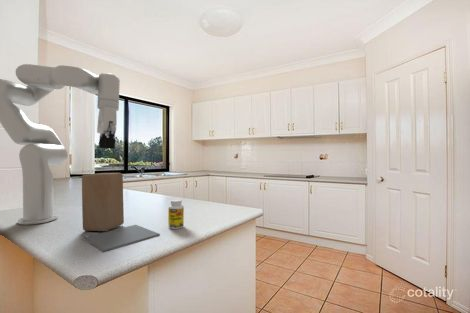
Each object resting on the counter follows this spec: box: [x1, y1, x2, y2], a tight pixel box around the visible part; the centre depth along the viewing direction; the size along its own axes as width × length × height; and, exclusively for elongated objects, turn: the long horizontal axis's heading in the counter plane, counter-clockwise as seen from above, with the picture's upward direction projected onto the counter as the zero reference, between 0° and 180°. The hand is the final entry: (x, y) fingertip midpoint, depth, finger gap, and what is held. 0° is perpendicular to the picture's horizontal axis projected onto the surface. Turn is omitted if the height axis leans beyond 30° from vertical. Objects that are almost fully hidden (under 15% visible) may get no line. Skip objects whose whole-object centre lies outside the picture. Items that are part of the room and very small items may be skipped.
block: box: [81, 172, 125, 232], centre depth 88 cm, size 10×10×20 cm
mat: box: [82, 224, 161, 253], centre depth 79 cm, size 16×18×1 cm
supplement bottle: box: [167, 199, 185, 230], centre depth 89 cm, size 6×6×10 cm
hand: (106, 148), depth 95 cm, fingers open, 9 cm apart
